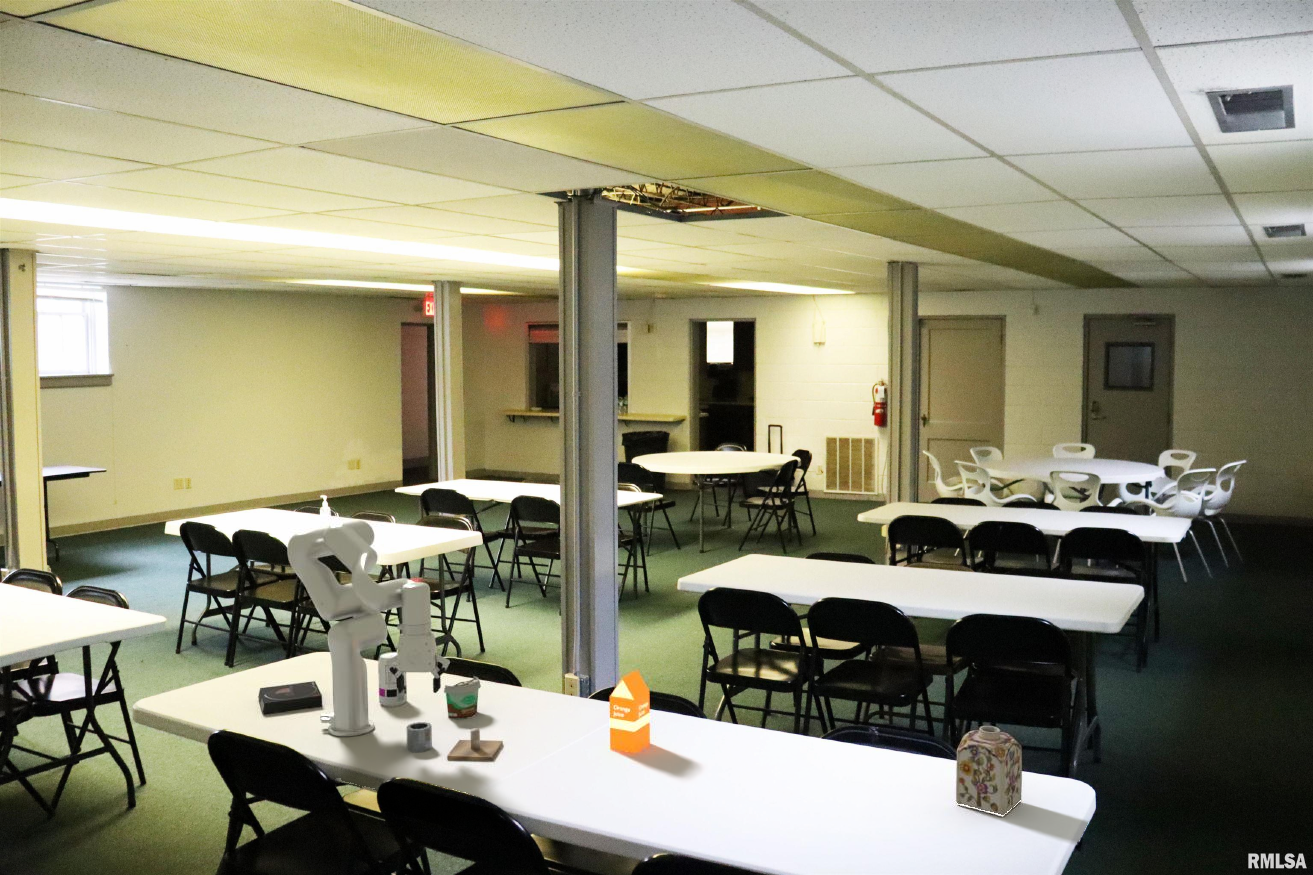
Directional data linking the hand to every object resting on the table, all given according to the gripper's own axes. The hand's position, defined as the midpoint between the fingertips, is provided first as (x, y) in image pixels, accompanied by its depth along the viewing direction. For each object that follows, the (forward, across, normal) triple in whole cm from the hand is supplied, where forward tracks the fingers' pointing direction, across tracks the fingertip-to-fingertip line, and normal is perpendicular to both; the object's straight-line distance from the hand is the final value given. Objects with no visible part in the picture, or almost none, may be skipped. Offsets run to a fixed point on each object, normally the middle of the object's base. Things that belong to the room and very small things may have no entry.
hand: (418, 691), depth 287 cm
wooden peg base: (+16, +16, -2) cm, 22 cm away
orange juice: (+16, +57, +5) cm, 59 cm away
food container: (+16, +6, +27) cm, 32 cm away
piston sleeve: (+16, 0, 0) cm, 16 cm away
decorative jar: (+17, +145, -27) cm, 148 cm away
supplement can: (+16, -20, +37) cm, 45 cm away
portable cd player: (+16, -52, +35) cm, 65 cm away
